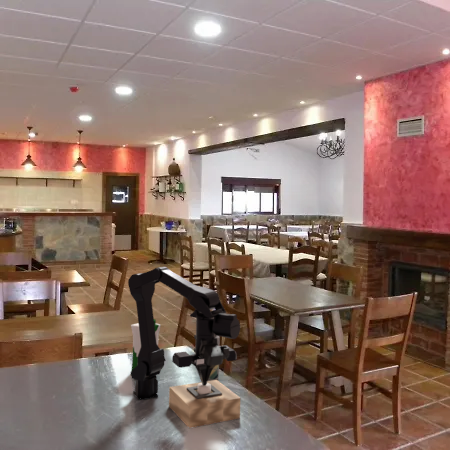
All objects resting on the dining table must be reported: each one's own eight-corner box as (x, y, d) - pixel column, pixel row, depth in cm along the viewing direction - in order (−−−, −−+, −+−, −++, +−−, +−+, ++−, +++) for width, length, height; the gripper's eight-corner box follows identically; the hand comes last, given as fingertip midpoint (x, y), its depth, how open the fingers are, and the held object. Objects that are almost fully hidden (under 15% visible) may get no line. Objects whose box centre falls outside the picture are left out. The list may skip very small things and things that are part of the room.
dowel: (200, 407, 143) (200, 388, 142) (195, 402, 146) (195, 383, 146) (212, 404, 144) (213, 386, 144) (207, 400, 148) (207, 381, 148)
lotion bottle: (216, 381, 171) (218, 325, 170) (200, 380, 172) (202, 324, 171) (220, 376, 176) (221, 321, 175) (204, 375, 177) (206, 320, 177)
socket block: (189, 428, 135) (189, 404, 134) (169, 406, 149) (169, 385, 149) (239, 418, 142) (240, 395, 142) (216, 398, 156) (216, 378, 156)
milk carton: (144, 379, 171) (146, 323, 171) (127, 373, 177) (128, 319, 176) (162, 372, 178) (163, 318, 178) (144, 367, 184) (145, 315, 183)
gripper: (186, 343, 133) (185, 399, 134) (246, 337, 142) (244, 389, 142) (172, 333, 143) (171, 385, 144) (228, 328, 151) (227, 377, 152)
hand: (204, 385), depth 145 cm, fingers closed, pressing on dowel
